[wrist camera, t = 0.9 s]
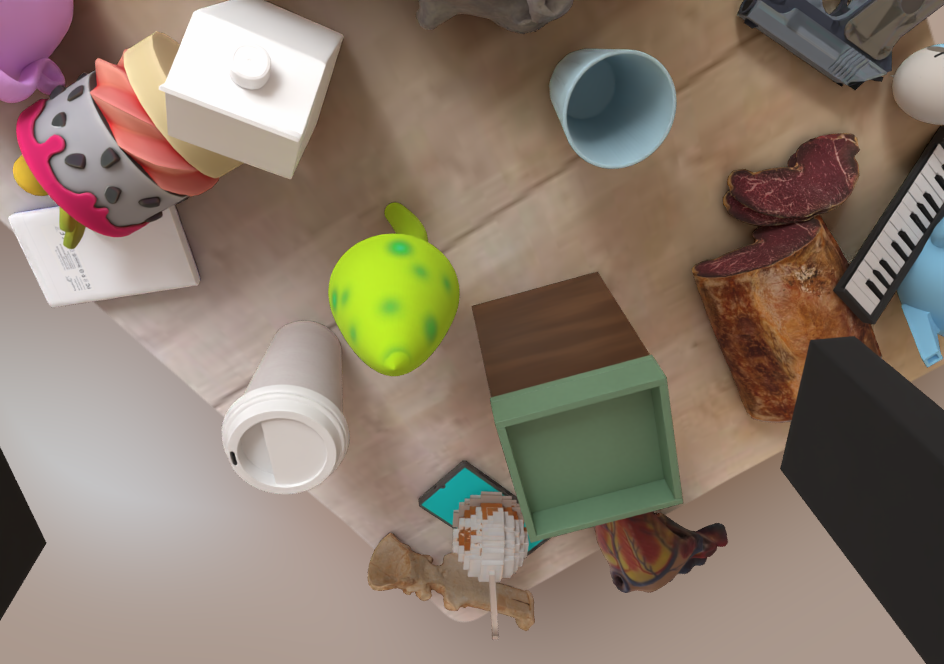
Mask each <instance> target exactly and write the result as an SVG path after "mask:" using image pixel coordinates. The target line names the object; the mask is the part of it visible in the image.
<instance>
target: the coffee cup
mask: <svg viewBox="0 0 944 664" xmlns="http://www.w3.org/2000/svg"><path fill="white" fill-rule="evenodd" d="M349 441H350V434H349V428H348V424H347V422H346V419H345V417H344V416H343V397H342V354H341V346H340V343H339V340H338V339H337V337H336V336H335V334H334V333H333V332H332V331H331V330H329V329H328V328H327V327H325V326H323V325H321V324H319V323H316V322H312V321H296V322H292V323H289V324H287V325H285V326H283V327H282V328H281V329H279V330H278V331H277V332H276V334H275V335H274V337H273V339H272V341H271V342H270V344H269V346H268V348H267V350H266V352H265V354H264V356H263V358H262V360H261V362H260V364H259V366H258V368H257V369H256V371H255V373H254V375H253V377H252V379H251V381H250V383H249V385H248V387H247V389H246V390H245V392H244V394H243V396H241V397H240V398H239V399H238V400H236V401H235V402H234V403H233V404H232V406H231V407H230V408H229V410H228V411H227V413H226V415H225V417H224V420H223V424H222V442H223V447H224V450H225V453H226V455H227V457H228V459H229V461H230V464H231V466H232V468H233V469H234V471H235V472H236V473H237V475H238V476H239V477H240V478H241V479H243V480H244V481H245V482H246V483H248V484H250V485H251V486H253V487H255V488H257V489H260V490H263V491H266V492H270V493H275V494H294V493H300V492H304V491H307V490H310V489H312V488H314V487H316V486H318V485H319V484H321V483H322V482H323V481H324V480H325V479H326V478H327V477H328V476H330V475H331V474H332V473H333V472H334V471H335V470H336V469H337V468H338V466H339V465H340V464H341V462H342V460H343V459H344V457H345V455H346V453H347V450H348V447H349Z"/></svg>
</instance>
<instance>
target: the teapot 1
mask: <svg viewBox="0 0 944 664" xmlns="http://www.w3.org/2000/svg"><path fill="white" fill-rule="evenodd" d="M73 9H74V6H73V0H0V100H1V101H4V102H8V103H16V102H20V101H23V100H25V99H27V98H28V97H29V96H31V95H32V94H33V92H34V91H35V90H36V88H37V89H38V90H39V91H41V92H42V93H44V94H47V95H50V94H51V92H52V91H53V90H54V88H55V87H57V86H58V85H62V86H65V78H64V76H63V74H62V72H61V70H60V69H59V67H58V66H57V65H56V64H55V63H54V62H53V61H52V60H50V59H49V58H48V57H49V56H50V55H51V54H52V53H53V51H54V50H55V49H56V48H57V46H58V45H59V44H60V42H61V41H62V39H63V38H64V36H65V34H66V33H67V31H68V30H69V27H70V24H71V21H72V18H73Z"/></svg>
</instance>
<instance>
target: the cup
mask: <svg viewBox="0 0 944 664" xmlns="http://www.w3.org/2000/svg"><path fill="white" fill-rule="evenodd" d="M549 89H550V99H551V102H552V104H553V106H554V109H555V111H556V113H557V116H558V118H559V120H560V123H561V125H562V128H563V130H564V133H565V135H566V137H567V140H568V142H569V144H570V145H571V147H572V148H573V150H574V151H575V152H576V153H577V154H578V155H579V156H580V157H581V158H582V159H583V160H585V161H586V162H588V163H590V164H592V165H594V166H597V167H601V168H606V169H619V168H625V167H629V166H632V165H634V164H637V163H639V162H641V161H642V160H644V159H646V158H647V157H648V156H650V155H651V154H652V153H653V152H654V151H655V150H656V149H657V148H658V147H659V146H660V145H661V144H662V142H663V141H664V140H665V138H666V136H667V135H668V133H669V131H670V129H671V127H672V124H673V121H674V117H675V113H676V91H675V87H674V83H673V81H672V78H671V76H670V74H669V73H668V71H667V70H666V68H665V67H664V66H663V65H662V64H661V63H660V62H659V61H658V60H657V59H655V58H654V57H652V56H650V55H648V54H646V53H644V52H641V51H637V50H628V49H580V50H578V51H574V52H571V53H569V54H568V55H566V56H565V57H564V58H563V59H562V60H561V61H560V62H559V63H558V64H557V65H556V67H555V69H554V71H553V74H552V76H551V79H550V84H549Z"/></svg>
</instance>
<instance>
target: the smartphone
mask: <svg viewBox="0 0 944 664" xmlns="http://www.w3.org/2000/svg"><path fill="white" fill-rule="evenodd" d="M481 491H483V492H502V496H512V500H516V501H517V504H519V502H518V499H517V497H516V496H514V495H513V494H512V493H510V492H509V491H507V490H506V489H505V488H503V487H502V486H500V485H499V484H498V483H496V482H495V481H493V480H492V479H491V478H489V477H488V476H486V475H485V474H484V473H482V472H481V471H479V470H478V469H476V468H475V467H474V466H472V465H471V464H469V463H468V462H467V461H462V462H461V463H460V464H459V465H458V466H456V467H455V468H454V469H453V470H452V471H451V472H449V473H448V474H447V475H446V476H445V477H444V478H442V479H441V480H440V481H439V482H438V483H437V484H435V485H434V486H433V487H432V488H431V489H430V490H428V491H427V492H426V493H425V494H424V495H423V496H422V497H420V498H419V506H420V507H421V508H423V509H424V510H426V511H427V512H429V513H430V514H432V515H433V516H435V517H437V518H438V519H440V520H441V521H443V522H444V523H446V524H447V525H449V526H450V527H452V528H453V529H457V527H453V512H454V510H459V502H465V498H467V499H470V495H481ZM524 527H526V525H525V522H524ZM527 533H528V532H527ZM549 539H550V538H547V539H543V540H539V541H536V542H532V543H531V542H530V539H529V535H528V541H529V546H528V552H527V556H528V555H529V554H531V553H532V552H533V551H534V550H536V549H537V548H538V547H540V546H541V545H542V544H544V543H545V542H546V541H547V540H549ZM523 559H524V558H523Z"/></svg>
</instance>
